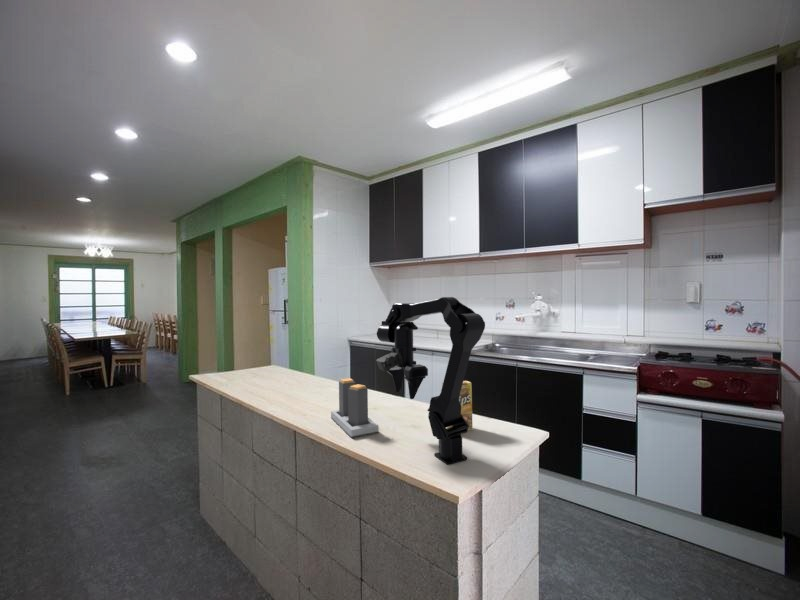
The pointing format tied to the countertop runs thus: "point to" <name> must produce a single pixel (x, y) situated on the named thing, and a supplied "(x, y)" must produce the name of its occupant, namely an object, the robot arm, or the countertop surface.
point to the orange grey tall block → (357, 405)
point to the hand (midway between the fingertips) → (404, 395)
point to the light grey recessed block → (356, 430)
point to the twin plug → (344, 395)
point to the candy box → (466, 403)
